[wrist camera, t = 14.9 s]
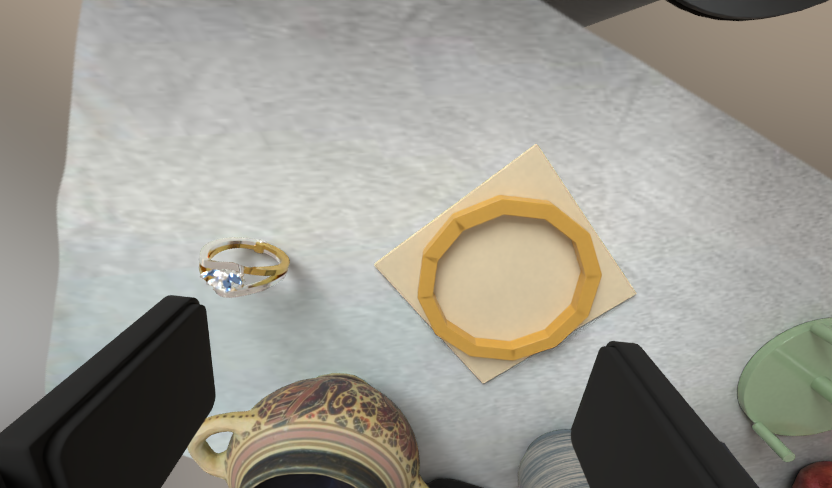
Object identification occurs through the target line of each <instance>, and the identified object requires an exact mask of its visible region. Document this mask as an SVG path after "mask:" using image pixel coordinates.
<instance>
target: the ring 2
mask: <svg viewBox="0 0 832 488" xmlns="http://www.w3.org/2000/svg"><path fill="white" fill-rule="evenodd" d="M502 215H510V216H519V217H528V218H537V219H545V220H546V221H548V222H549V223H550V224H552V225H553V226H554V227H555V228H557V229H558V230H559V231H561V232H562V233H563V234H565V235H566V236H567V237H568V238H570V239H571V241H572V245H573V248H574V251H575V254H576V257H577V261H578V264H579V267H580V270H581V272H580V275H579V278H578V282H577V285H576V288H575V292H574V295H573V298H572V301H571V304H570V305H569V306H568V307H567V308H566V309H565V310H564V311H563V312H562V313H561V314H560V315H559V316H558V317H557V318H556V319H555V320H554V321H553V322H552V323H551V324H549V325H548V326H547V327H546V328H545V329H544V330H541V331H538V332H535V333H532V334H529V335H526V336H523V337H520V338H517V339H514V340H512V341H505V340H495V339H485V338H475V337H473V336H472V335H470V334H469V333H467V332H465V331H464V330H462V329H461V328H459V327H458V326H456V325H455V324H453V323H452V322H450V321H449V320H447V319H446V317H445V315H444V313H443V311H442V309H441V307H440V305H439V303H438V300H437V298H436V296H435V294H434V292H433V291H434V284H435V277H436V270H437V264H438V260H439V259H440V258H441V257H442V256H443V254H444V253H445V252H446V251H447V250H448V248H449V247H450V246H451V245H452V244H453V242H454V241H455V240H456V239H457V238H458V237H459V235H460V234H461V233H462V232H463V231H464V230H466V229H469V228H471V227H474V226H476V225H479V224H481V223H484V222H486V221H489V220H492V219H494V218H497V217H499V216H502ZM601 277H602V273H601V269H600V266H599V262H598V259H597V255H596V252H595V248H594V245H593V241H592V238H591V234H590V233H589V232H588V231H587V230H586V229H585V228H583V227H582V226H581V225H580V224H578V223H577V222H576V221H574V220H573V219H572V218H571V217H569V216H568V215H567V214H566V213H564V212H563V211H562V210H561V209H559V208H558V207H557V206H555V205H554V204H553V203H552V202H550V201H548V200H541V199H533V198H524V197H515V196H506V195H497V196H495V197H492V198H490V199H487V200H485V201H482V202H480V203H477V204H475V205H473V206H470V207H468V208H465V209H463V210H460V211H458V212H455V213H453V214H452V215H451V216H450V217H449V218H448V220H447V221H446V222H445V223H444V225H443V226H442V227H441V228H440V230H439V231H438V232H437V233H436V235H435V236H434V237H433V238H432V239H431V241H430V242H429V243H428V244H427V246H426V247H425V248H424V249H423V253H422V261H421V269H420V276H419V284H418V297H417V298H418V300H419V302H420V304H421V306H422V308H423V310H424V312H425V314H426V316H427V318H428V320H429V322H430V324H431V326H432V328H433V330H434V332H435V334H436V335H437V336H439V337H440V338H442V339H444V340H445V341H447V342H448V343H450V344H451V345H453V346H455V347H456V348H458V349H459V350H461V351H463V352H464V353H466V354H467V355H469V356H471V357H481V358H491V359H501V360H511V361H513V360H517V359H520V358H523V357H526V356H529V355H532V354H535V353H538V352H542V351H545V350H548V349H551V348H554V347H556V346H557V345H558V344H560V343H561V342H562V341H563V340H564V339H565V338H566V337H567V336H568V335H569V334H570V333H571V332H572V331H573V330H575V329H576V328H577V327H578V326H579V325H580V324H581V323H582V322H583V321H584V320H585V319H586V318H587V317H588V316H589V313H590V310H591V307H592V304H593V301H594V298H595V295H596V292H597V289H598V286H599V283H600V280H601Z"/></svg>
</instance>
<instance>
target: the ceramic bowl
mask: <svg viewBox="0 0 832 488" xmlns="http://www.w3.org/2000/svg"><path fill="white" fill-rule="evenodd" d="M227 431H229V432H233V435H232V437H231V439H230V442H229V445H228V448H227V450H225V451H224V452H222V453H215V452H214V451H213V450H212V449H211V447H210V446H209V445H208V443H207V442H206V441H205V440H206V439H207V438H208V437H209V436H211V435H213V434H216V433H219V432H227ZM188 451H189V453H190V455H191V456H192V458H193V459H194V460H195V461H196V463H197V464H198V465H199V466H200V467H201V468H202V469H203V470H204V471H205V472H206V473H208V474H210V475H213V476H216V477H220V478H222V479H224V480H226V482H227V484H228V486H229V488H429V487H428V486H427V485H426V484H425V482H424V481H423V479H422V478H421V476H420V474H419V467H420V460H419V451H418V446H417V442H416V439H415V435H414V433H413V431H412V428H411V426H410V424H409V423H408V421H407V419H406V417H405V416H404V415H403V413H402V412H401V411H400V409H399V408H398V407H397V406H396V405H395V404H394V403H393V402H392V401H391V400H390V399H389V398H387V397H386V396H385V395H383V394H382V393H381V392H380V391H378V390H376V389H375V388H373V387H371V386H370V385H369V384H367V383H366V382H365V381H364V380H362V379H360V378H358V377H356V376H354V375H350V374H341V373H332V374H326V375H321V376H318V377H316V378H312V379H306V380H301V381H298V382H295V383H292V384H290V385H287V386H285V387H282V388H280V389H278V390H276V391H275V392H273V393H271V394H269V395H268V396H266V397H265V398H263V399H262V400H261V401H260V402H258V403H257V404H256V405H255V406H254V407H253V408H252V409H251V410H249V411H244V412H230V413H225V414H219V415H215V416H211V417H208V418H206V419H205V421H204V422H203V424H202V425H201V427H200V428H199V430H198V431H197V433H196V435H195V436H194V438H193V439H192V441H191V442H190V444H189V445H188Z"/></svg>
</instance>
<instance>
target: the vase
mask: <svg viewBox="0 0 832 488" xmlns="http://www.w3.org/2000/svg"><path fill="white" fill-rule="evenodd" d="M518 487H519V488H590V487H589V485H588V482H587V480H586V477H585V475H584V473H583V470H582V468H581V465H580V463H579V460H578V458H577V456H576V453H575V451H574V448H573V446H572V442H571V430H568V429H564V430H556V431H552V432H549V433H546V434H544V435H542V436H540V437H539V438H537V439H536V440H535V441H534V442H532V444H531V445H530V446H529V448H528V450H527V452H526V454H525V455H524V457H523V459H522V461H521V463H520V465H519V470H518Z"/></svg>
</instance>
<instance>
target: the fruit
mask: <svg viewBox="0 0 832 488" xmlns="http://www.w3.org/2000/svg"><path fill="white" fill-rule="evenodd" d="M792 488H832V462H831V461H822V462H815V463H812V464H810V465H808V466H806V467H804V468H803V469H801V470H800V472H799V473H798V475H797V477H796V479H795V482H794V484H793V486H792Z"/></svg>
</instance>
